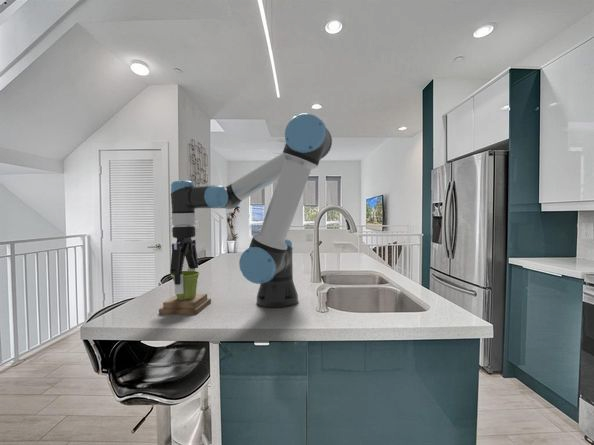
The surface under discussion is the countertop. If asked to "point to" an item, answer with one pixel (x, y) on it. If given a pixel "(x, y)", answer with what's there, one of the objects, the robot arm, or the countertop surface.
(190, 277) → the plant pot
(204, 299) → the walnut stand
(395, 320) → the countertop surface
